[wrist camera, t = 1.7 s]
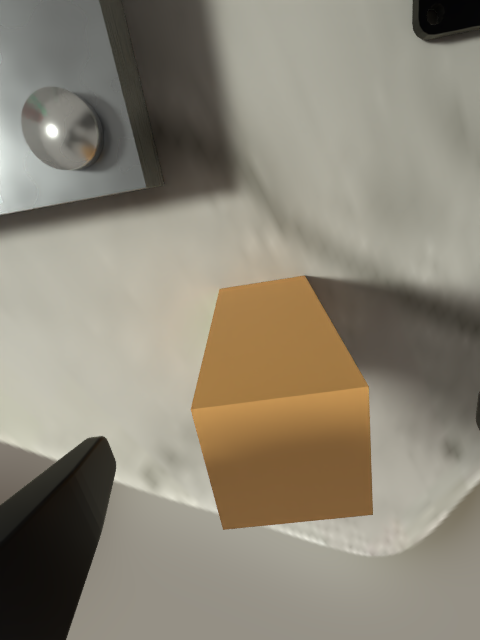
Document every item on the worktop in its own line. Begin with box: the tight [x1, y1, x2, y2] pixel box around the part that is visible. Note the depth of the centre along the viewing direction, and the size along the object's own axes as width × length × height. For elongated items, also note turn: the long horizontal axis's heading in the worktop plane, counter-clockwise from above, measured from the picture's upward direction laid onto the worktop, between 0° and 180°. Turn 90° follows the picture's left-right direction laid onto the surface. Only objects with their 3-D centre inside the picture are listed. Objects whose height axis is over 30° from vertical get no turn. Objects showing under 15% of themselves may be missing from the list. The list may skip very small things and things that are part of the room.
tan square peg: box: [191, 276, 373, 530], centre depth 11 cm, size 4×4×8 cm
